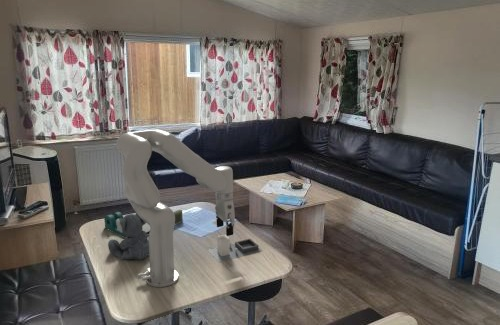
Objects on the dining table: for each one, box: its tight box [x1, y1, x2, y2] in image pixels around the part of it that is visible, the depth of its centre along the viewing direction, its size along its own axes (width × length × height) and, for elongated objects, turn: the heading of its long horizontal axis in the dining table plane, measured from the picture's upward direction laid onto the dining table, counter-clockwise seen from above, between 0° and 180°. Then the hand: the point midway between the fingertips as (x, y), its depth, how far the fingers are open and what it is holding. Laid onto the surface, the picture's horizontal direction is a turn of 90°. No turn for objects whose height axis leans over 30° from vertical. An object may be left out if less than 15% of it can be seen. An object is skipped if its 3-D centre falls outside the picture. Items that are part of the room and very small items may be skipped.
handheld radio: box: [145, 209, 184, 236], centre depth 201 cm, size 7×3×25 cm
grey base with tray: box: [207, 238, 263, 263], centre depth 179 cm, size 22×12×4 cm, turn 120°
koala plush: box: [107, 212, 149, 261], centre depth 173 cm, size 17×18×20 cm
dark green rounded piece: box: [104, 211, 126, 238], centre depth 197 cm, size 18×7×8 cm, turn 53°
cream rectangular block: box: [216, 234, 231, 256], centre depth 175 cm, size 4×4×8 cm
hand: (224, 230), depth 173 cm, fingers open, 9 cm apart
